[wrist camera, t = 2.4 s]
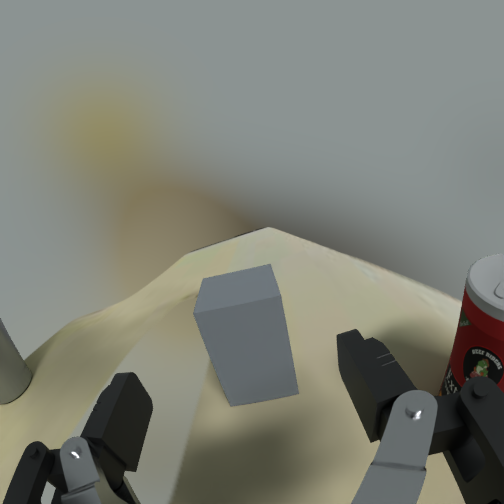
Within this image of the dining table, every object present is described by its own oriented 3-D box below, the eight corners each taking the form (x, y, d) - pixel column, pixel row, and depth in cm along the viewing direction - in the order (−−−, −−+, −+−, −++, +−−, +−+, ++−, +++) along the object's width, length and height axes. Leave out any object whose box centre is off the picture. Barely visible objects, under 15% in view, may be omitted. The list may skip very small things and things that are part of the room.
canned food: (417, 408, 15) (444, 285, 12) (469, 356, 17) (491, 244, 14) (481, 457, 8) (557, 334, 5) (526, 389, 10) (571, 269, 7)
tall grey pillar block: (298, 393, 21) (280, 295, 18) (230, 406, 21) (193, 313, 18) (288, 352, 27) (270, 263, 23) (231, 363, 27) (202, 278, 24)
